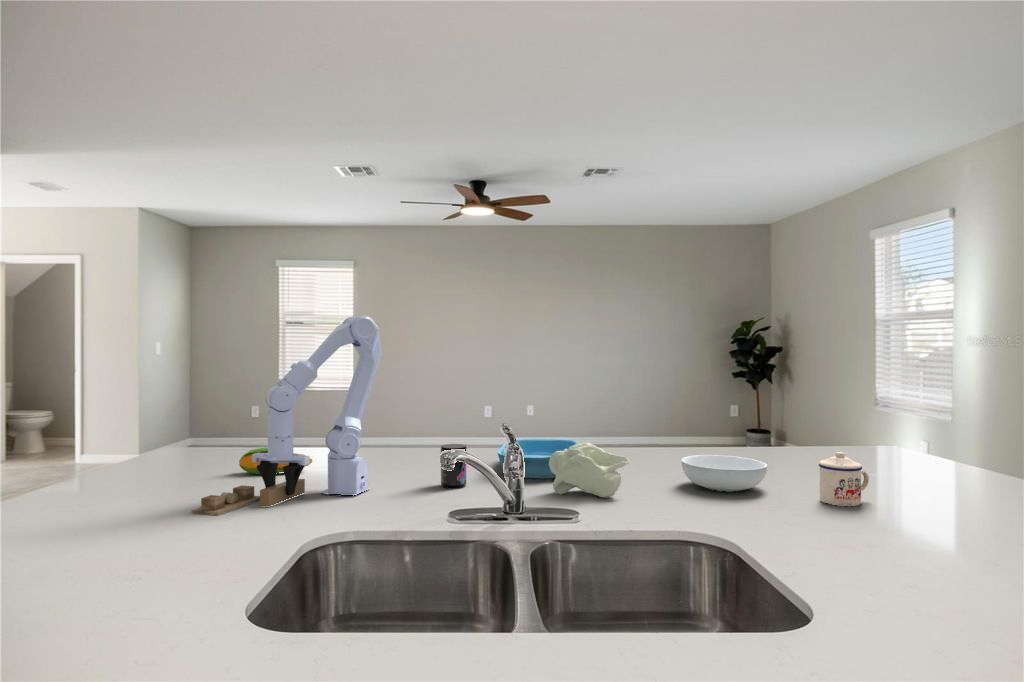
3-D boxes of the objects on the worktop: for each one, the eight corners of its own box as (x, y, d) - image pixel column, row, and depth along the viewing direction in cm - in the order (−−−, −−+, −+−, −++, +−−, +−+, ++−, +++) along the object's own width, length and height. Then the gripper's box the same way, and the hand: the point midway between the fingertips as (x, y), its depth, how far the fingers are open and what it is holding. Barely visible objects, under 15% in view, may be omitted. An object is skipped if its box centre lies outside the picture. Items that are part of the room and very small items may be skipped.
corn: (242, 445, 186) (314, 443, 189) (243, 471, 187) (315, 469, 190) (235, 451, 179) (310, 449, 182) (236, 478, 179) (311, 476, 182)
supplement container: (454, 490, 163) (454, 449, 163) (435, 486, 167) (435, 446, 167) (472, 485, 169) (472, 445, 169) (452, 482, 173) (452, 443, 173)
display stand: (263, 498, 154) (263, 485, 154) (218, 515, 140) (217, 501, 140) (238, 496, 156) (238, 484, 156) (191, 512, 142) (191, 498, 142)
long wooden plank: (304, 495, 159) (304, 478, 159) (269, 508, 147) (269, 490, 147) (295, 494, 160) (295, 478, 160) (259, 507, 148) (259, 489, 148)
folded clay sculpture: (605, 518, 162) (631, 461, 165) (604, 518, 150) (632, 457, 152) (541, 485, 167) (567, 430, 169) (535, 482, 155) (563, 424, 157)
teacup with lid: (836, 508, 146) (836, 456, 146) (810, 498, 155) (810, 449, 155) (882, 505, 149) (882, 454, 148) (854, 496, 157) (854, 448, 157)
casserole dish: (509, 457, 210) (509, 435, 210) (579, 459, 207) (579, 436, 207) (491, 482, 173) (491, 455, 173) (575, 484, 171) (575, 457, 171)
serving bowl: (780, 498, 156) (780, 469, 156) (692, 497, 156) (692, 469, 156) (750, 479, 176) (750, 454, 176) (673, 479, 177) (673, 453, 177)
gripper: (243, 437, 152) (243, 495, 152) (296, 440, 148) (297, 500, 148) (263, 433, 159) (263, 488, 159) (314, 435, 154) (314, 492, 155)
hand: (280, 493), depth 154 cm, fingers open, 5 cm apart
